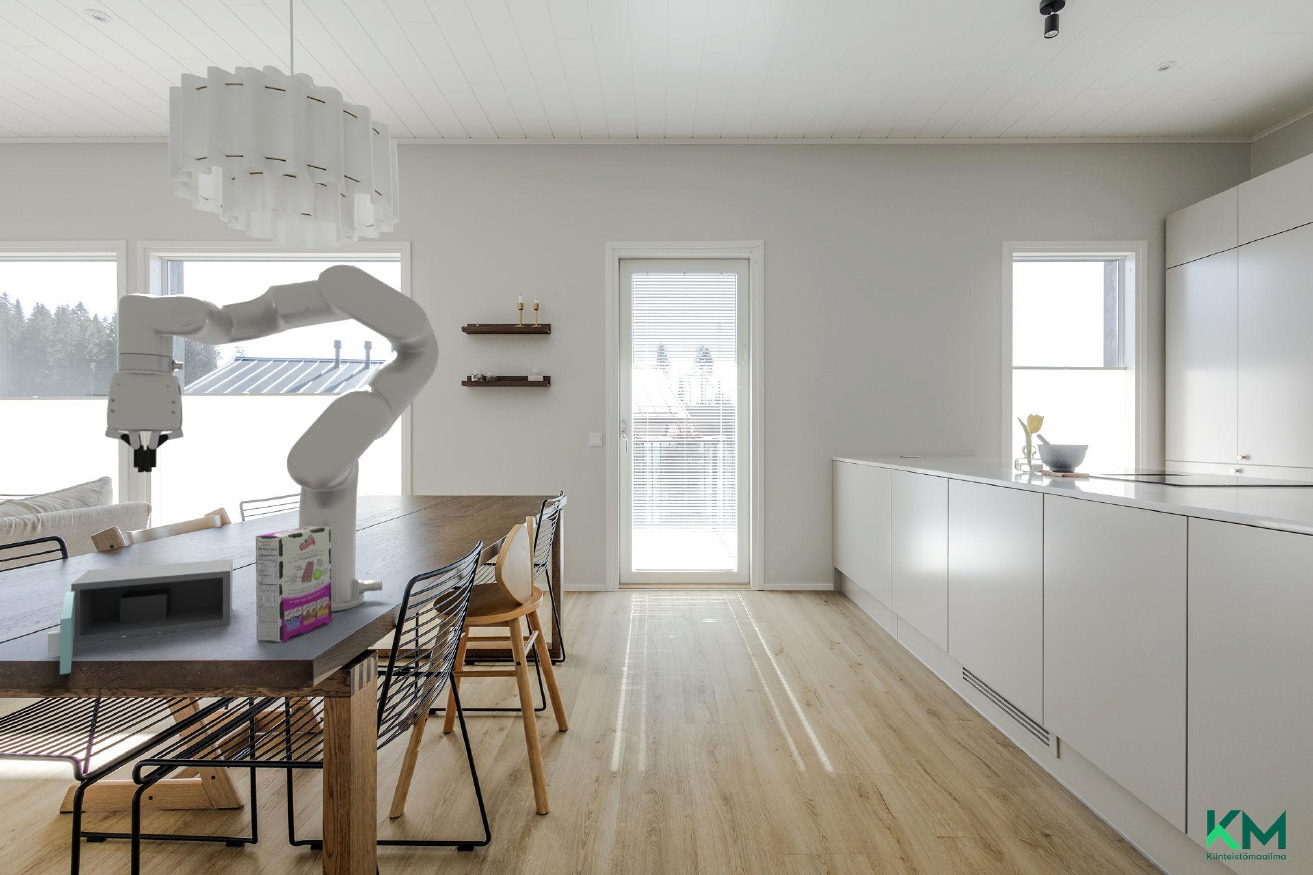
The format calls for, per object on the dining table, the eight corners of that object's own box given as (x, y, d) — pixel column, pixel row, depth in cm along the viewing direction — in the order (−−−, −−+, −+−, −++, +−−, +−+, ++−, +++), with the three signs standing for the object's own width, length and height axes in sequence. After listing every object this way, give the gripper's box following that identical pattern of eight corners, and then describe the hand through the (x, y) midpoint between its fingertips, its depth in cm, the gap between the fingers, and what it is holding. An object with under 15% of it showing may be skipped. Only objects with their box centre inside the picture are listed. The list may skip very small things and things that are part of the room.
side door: (71, 672, 83) (72, 617, 83) (46, 676, 81) (47, 620, 81) (74, 637, 97) (75, 590, 97) (53, 640, 96) (54, 592, 96)
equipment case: (232, 608, 118) (232, 559, 118) (229, 624, 108) (230, 570, 108) (88, 624, 108) (88, 569, 108) (70, 643, 97) (71, 583, 97)
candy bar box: (306, 621, 110) (307, 525, 110) (332, 623, 109) (333, 526, 109) (253, 641, 99) (254, 534, 99) (281, 644, 98) (282, 535, 98)
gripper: (199, 371, 120) (199, 470, 120) (94, 366, 112) (93, 471, 112) (196, 367, 114) (195, 472, 114) (85, 362, 106) (83, 474, 106)
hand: (145, 471), depth 113 cm, fingers closed
